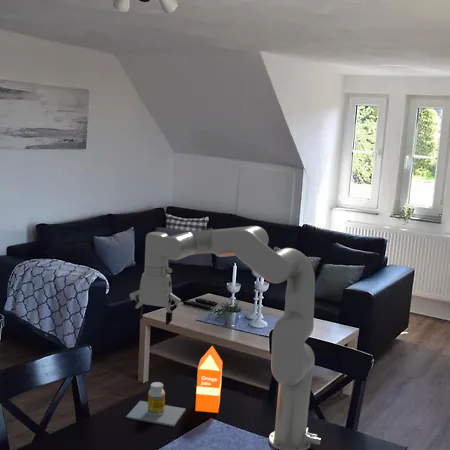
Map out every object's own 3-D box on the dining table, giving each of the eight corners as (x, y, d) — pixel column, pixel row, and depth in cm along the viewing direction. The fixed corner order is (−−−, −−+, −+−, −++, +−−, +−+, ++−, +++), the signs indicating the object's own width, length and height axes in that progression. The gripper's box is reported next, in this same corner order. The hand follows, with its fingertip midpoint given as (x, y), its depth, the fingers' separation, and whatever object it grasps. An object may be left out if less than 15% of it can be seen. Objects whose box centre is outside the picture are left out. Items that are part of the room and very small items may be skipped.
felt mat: (185, 410, 210) (185, 408, 210) (174, 426, 199) (174, 424, 199) (140, 402, 214) (140, 400, 214) (126, 417, 202) (126, 416, 202)
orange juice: (220, 401, 219) (224, 346, 215) (218, 412, 210) (222, 355, 207) (197, 399, 219) (201, 344, 216) (194, 410, 210) (198, 353, 207)
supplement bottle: (159, 407, 210) (161, 379, 208) (166, 414, 205) (168, 386, 204) (144, 410, 207) (146, 382, 205) (151, 417, 202) (153, 389, 201)
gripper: (185, 270, 206) (182, 321, 209) (135, 265, 210) (133, 315, 213) (178, 276, 199) (175, 328, 202) (126, 270, 203) (124, 321, 205)
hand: (154, 321), depth 207 cm, fingers open, 9 cm apart
